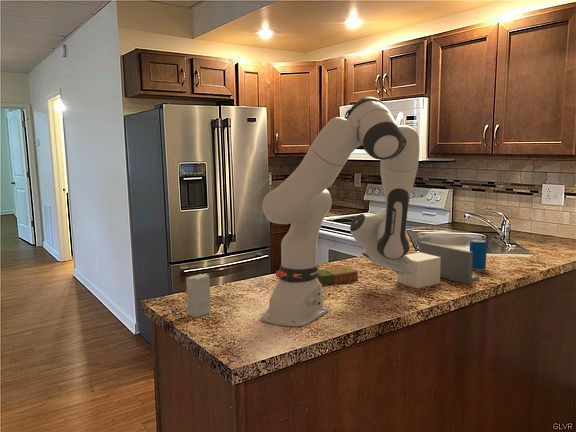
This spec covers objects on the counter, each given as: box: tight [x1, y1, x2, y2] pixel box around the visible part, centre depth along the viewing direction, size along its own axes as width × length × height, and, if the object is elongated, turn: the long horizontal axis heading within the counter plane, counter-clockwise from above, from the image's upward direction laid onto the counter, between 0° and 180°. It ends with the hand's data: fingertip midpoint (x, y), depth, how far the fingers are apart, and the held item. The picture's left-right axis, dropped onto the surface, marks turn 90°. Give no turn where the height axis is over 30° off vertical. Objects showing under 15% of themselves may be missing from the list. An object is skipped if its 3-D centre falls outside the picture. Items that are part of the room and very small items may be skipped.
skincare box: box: [185, 273, 212, 318], centre depth 143 cm, size 6×4×12 cm
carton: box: [317, 265, 359, 287], centre depth 179 cm, size 8×16×4 cm, turn 114°
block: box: [396, 252, 441, 289], centre depth 174 cm, size 12×10×10 cm
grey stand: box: [418, 241, 480, 285], centre depth 183 cm, size 9×24×12 cm, turn 31°
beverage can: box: [469, 238, 488, 271], centre depth 192 cm, size 6×6×12 cm
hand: (401, 273), depth 169 cm, fingers closed
